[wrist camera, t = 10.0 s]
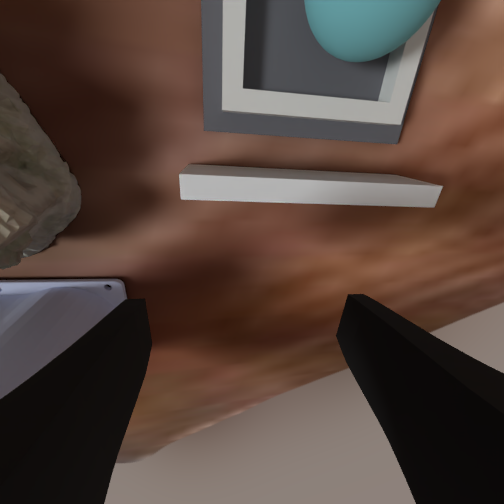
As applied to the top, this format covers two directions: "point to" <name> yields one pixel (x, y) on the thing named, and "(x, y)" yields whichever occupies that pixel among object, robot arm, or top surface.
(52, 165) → the jagged rock
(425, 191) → the wall
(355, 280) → the top surface
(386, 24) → the ball
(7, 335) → the robot arm
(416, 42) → the mat
